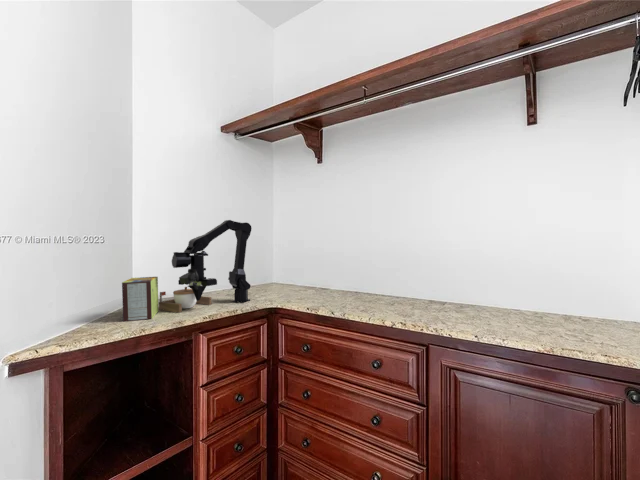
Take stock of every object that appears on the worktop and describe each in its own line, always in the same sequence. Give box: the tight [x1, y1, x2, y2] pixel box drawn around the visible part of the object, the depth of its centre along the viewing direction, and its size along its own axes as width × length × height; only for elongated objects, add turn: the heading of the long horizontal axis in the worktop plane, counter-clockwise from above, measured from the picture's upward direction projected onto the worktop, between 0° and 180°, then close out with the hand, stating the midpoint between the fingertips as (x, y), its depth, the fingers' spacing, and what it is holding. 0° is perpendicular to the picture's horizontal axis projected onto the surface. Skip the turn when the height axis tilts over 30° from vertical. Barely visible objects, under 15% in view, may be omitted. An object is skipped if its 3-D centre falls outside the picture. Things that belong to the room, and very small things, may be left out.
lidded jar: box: [172, 286, 197, 309], centre depth 152 cm, size 11×11×9 cm
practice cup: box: [158, 291, 212, 314], centre depth 152 cm, size 18×13×8 cm
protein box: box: [121, 276, 159, 322], centre depth 135 cm, size 10×15×16 cm
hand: (198, 300), depth 148 cm, fingers closed
